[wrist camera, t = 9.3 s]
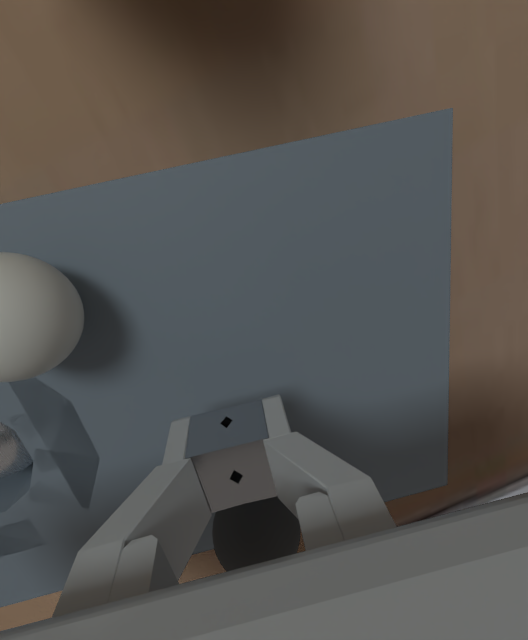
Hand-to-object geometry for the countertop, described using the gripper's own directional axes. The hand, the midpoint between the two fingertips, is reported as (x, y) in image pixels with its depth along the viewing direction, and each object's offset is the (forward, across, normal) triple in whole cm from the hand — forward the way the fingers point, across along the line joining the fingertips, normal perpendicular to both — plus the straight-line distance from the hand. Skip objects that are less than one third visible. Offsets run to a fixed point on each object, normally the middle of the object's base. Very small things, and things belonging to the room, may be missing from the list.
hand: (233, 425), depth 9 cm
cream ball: (0, +4, -4) cm, 6 cm away
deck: (+6, +4, 0) cm, 7 cm away
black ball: (0, 0, +5) cm, 5 cm away
